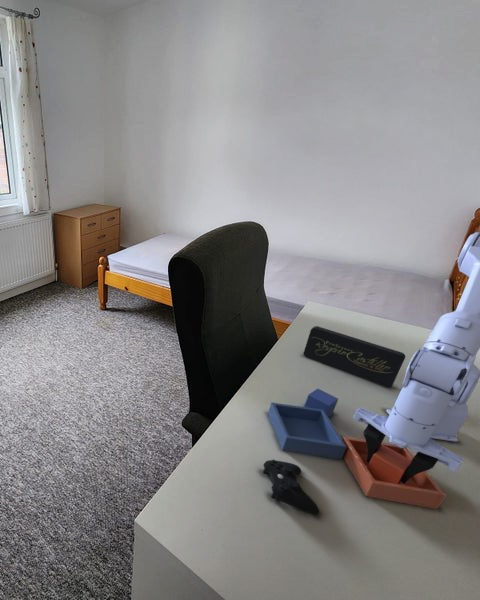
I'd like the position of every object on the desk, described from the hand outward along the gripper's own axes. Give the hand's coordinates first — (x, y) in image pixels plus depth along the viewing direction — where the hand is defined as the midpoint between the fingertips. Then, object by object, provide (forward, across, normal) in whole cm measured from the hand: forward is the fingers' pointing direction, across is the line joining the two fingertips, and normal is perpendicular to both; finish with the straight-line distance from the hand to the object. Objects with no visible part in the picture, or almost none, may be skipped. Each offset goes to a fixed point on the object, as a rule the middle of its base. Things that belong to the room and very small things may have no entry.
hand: (386, 469), depth 64 cm
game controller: (+2, -8, -18) cm, 20 cm away
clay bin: (+2, 0, 0) cm, 2 cm away
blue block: (+2, -16, +8) cm, 18 cm away
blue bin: (+2, -14, -2) cm, 14 cm away
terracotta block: (+1, 0, 0) cm, 1 cm away
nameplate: (+2, -20, +34) cm, 39 cm away
